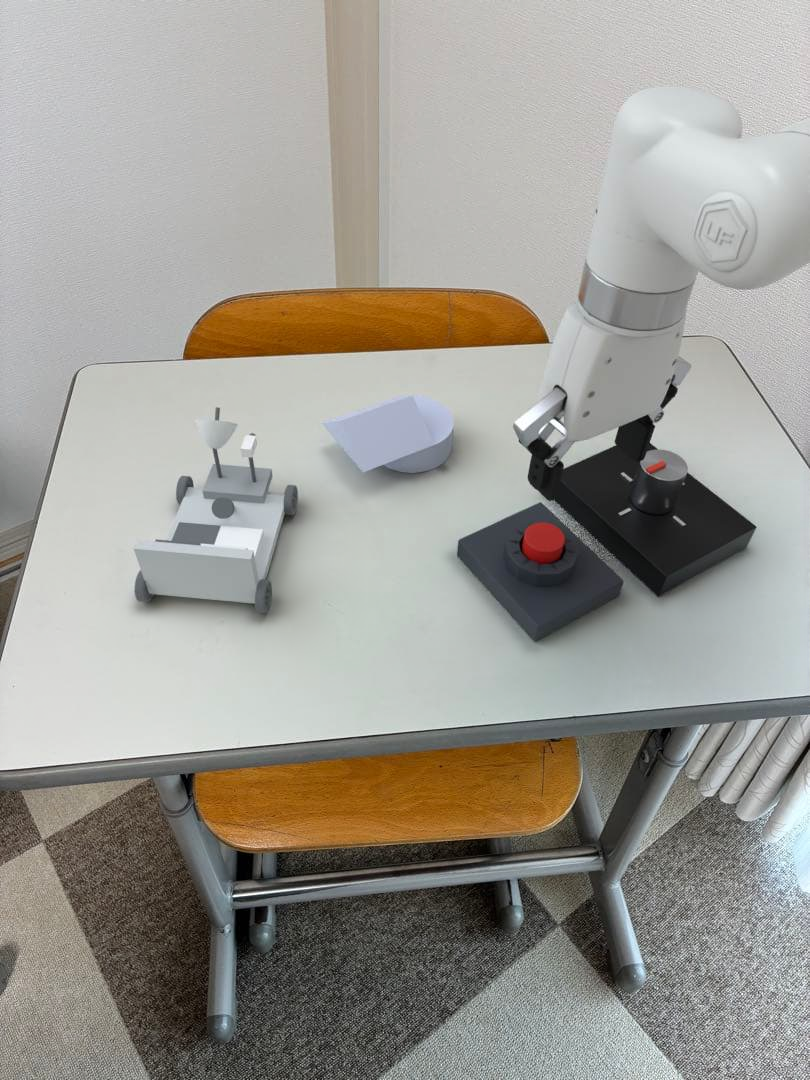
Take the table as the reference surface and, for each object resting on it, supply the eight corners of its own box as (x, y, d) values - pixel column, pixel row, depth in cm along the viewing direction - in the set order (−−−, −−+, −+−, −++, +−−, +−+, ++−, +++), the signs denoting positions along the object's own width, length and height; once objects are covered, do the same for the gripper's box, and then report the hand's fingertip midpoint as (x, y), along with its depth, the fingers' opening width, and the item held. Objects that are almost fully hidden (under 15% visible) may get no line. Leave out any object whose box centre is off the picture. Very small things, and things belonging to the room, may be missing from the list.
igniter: (619, 596, 74) (629, 567, 71) (534, 642, 70) (541, 614, 67) (537, 517, 80) (543, 488, 78) (456, 555, 77) (459, 526, 74)
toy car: (177, 398, 76) (296, 407, 76) (194, 474, 84) (303, 483, 83) (112, 533, 64) (253, 545, 64) (138, 608, 71) (266, 620, 71)
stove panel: (746, 547, 78) (757, 525, 76) (658, 597, 74) (667, 575, 71) (633, 455, 87) (640, 433, 85) (548, 494, 83) (552, 472, 80)
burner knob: (652, 478, 80) (665, 441, 77) (684, 504, 78) (698, 467, 74) (620, 493, 79) (631, 456, 75) (651, 520, 76) (664, 483, 73)
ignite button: (569, 554, 72) (573, 541, 71) (538, 570, 71) (541, 557, 70) (544, 530, 74) (547, 516, 73) (514, 544, 73) (516, 531, 72)
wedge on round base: (363, 496, 82) (467, 455, 87) (362, 446, 77) (472, 405, 82) (323, 447, 87) (423, 410, 92) (319, 397, 82) (425, 361, 87)
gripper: (685, 239, 61) (631, 415, 74) (502, 296, 55) (478, 478, 67) (760, 284, 57) (690, 463, 69) (572, 351, 50) (532, 535, 63)
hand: (586, 470), depth 68 cm, fingers open, 9 cm apart
